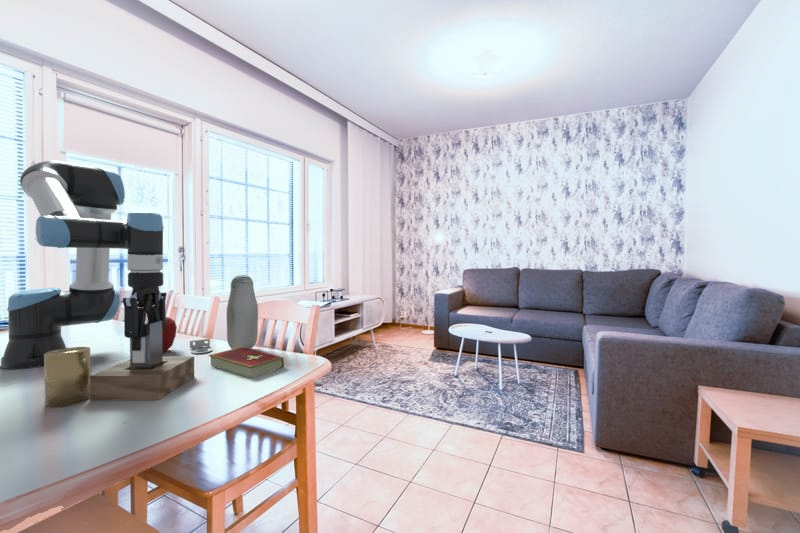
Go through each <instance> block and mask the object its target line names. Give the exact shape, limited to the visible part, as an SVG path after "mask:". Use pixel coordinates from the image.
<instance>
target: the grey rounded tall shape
mask: <svg viewBox="0 0 800 533" xmlns="http://www.w3.org/2000/svg"><path fill="white" fill-rule="evenodd" d="M254 289H255V288H254V281H253V279H252V278H251V277H250V276H249V275H244V274H242V275H241V274H239V275H236V276H234V277H233V278H232V279H231V283H230V293H229V297H228V302H227V306H226V338H227V340H226V341H227V344H228V346H229V347H230V350H231V349H236V348H240V347H244V348H248V349H253V348H254V347H255V345H256V343H257V341H258V333H259V331H258V330H259V329H258V324H259V323H258V321H259V305H258V301H257V297H256V294H255V290H254Z"/></svg>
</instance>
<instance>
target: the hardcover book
mask: <svg viewBox="0 0 800 533" xmlns="http://www.w3.org/2000/svg"><path fill="white" fill-rule="evenodd" d="M208 356H209V357H210V366H211V367H213V366H214V367H215V368H218V369H220V370H223V369H224V370H223V371H226V370H227V371H226V372H229V371H230V372H229V373H232V374H236V373H237V374H236V375H239V376H242V375H243V377H245V376H246V378H248V377H249V379H253V378H255V376H256V377H258V375H259V376H262V375H264V374H263V373H265V374H267V373H266V372H268V373H270V372H269V371H271V370H274V369H277V368H280V367H283V368H284V365H285V359H284V357H283V356H280V355H275V354H272V353H268V352H267V353H266V352H263V351H260V350H255V349H253V348H251V349H248V348H244V347H240V348H236V349H231V348H230V349H228V350H224V351H220V352H215V353H212V354H209V355H208ZM280 369H281V368H280ZM277 370H278V369H277ZM274 371H275V370H274ZM271 372H272V371H271ZM261 374H262V375H261Z"/></svg>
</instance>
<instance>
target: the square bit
mask: <svg viewBox="0 0 800 533" xmlns="http://www.w3.org/2000/svg"><path fill="white" fill-rule="evenodd" d="M143 337H145V360H146V362H144V363H133V351H132V338H129V359H130V370H152V369H154V368H156V367H158V366H160V365H162V364H163V356H164V355H163V353H162V321H148V319H145V325H144V331H143Z"/></svg>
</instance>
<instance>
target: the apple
mask: <svg viewBox="0 0 800 533" xmlns="http://www.w3.org/2000/svg"><path fill="white" fill-rule="evenodd" d="M177 328H178V326H177V324H176V321H175V320H174V319H173V318H171V317H168V316H166V326H165V327H164V331H162V354H163V353H166V352H168V350H169V349H170V348H172V346H173V344H174V341H175V339H176V334H177Z"/></svg>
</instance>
